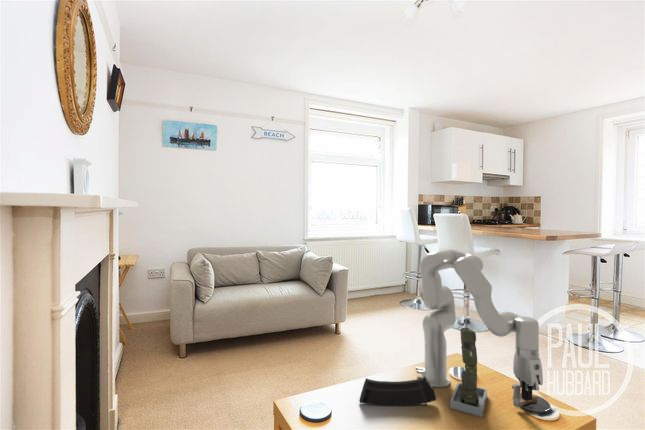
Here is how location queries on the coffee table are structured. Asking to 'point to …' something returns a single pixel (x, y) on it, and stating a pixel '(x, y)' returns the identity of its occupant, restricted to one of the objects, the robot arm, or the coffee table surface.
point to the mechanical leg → (469, 368)
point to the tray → (466, 408)
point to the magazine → (397, 392)
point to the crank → (516, 398)
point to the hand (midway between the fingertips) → (526, 399)
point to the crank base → (536, 406)
